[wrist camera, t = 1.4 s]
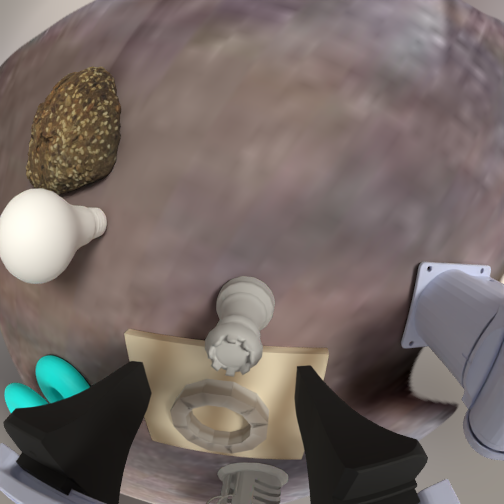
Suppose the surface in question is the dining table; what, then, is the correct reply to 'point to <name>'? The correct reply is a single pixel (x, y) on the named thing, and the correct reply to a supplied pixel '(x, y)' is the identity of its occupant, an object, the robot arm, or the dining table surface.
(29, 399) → the donuts
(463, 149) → the dining table surface
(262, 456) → the ring board
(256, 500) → the french press
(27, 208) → the lightbulb
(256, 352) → the rook chess piece
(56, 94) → the bread roll
